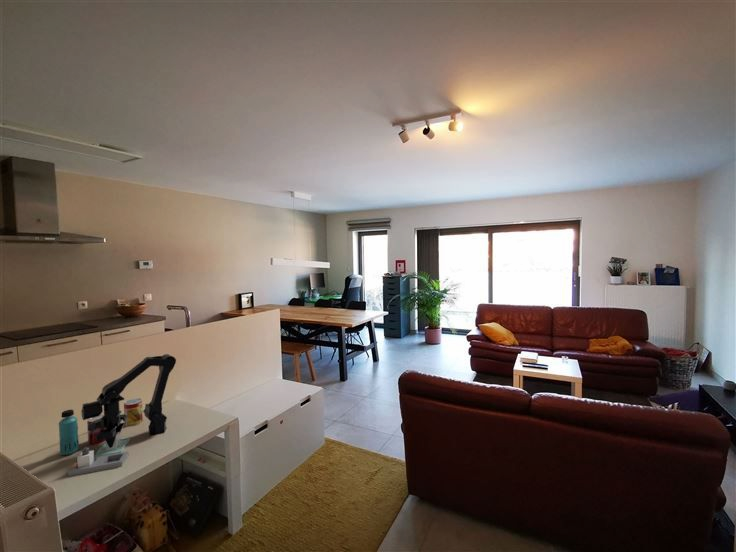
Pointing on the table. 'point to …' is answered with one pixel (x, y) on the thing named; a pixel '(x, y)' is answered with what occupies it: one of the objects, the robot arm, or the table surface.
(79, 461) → the twin plug
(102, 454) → the tray
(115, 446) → the plug
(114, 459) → the pdu strip
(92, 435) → the soda can
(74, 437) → the beverage bottle
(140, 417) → the canned food
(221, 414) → the table surface
